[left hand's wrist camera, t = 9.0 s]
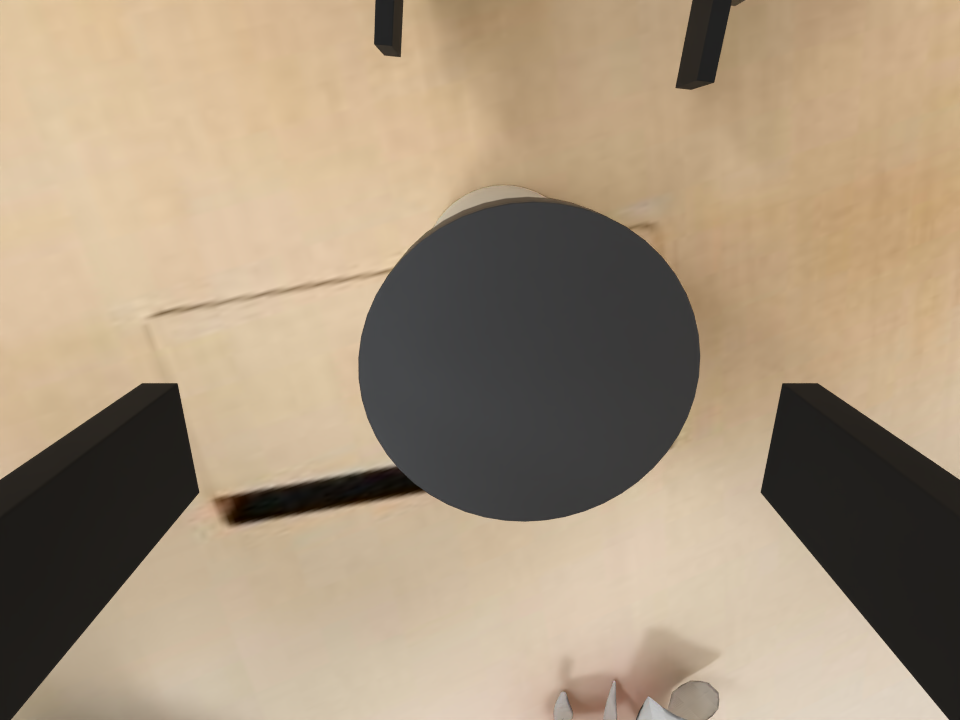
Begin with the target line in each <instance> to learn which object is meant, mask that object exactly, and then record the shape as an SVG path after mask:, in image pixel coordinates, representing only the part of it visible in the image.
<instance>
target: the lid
mask: <svg viewBox="0 0 960 720" xmlns="http://www.w3.org/2000/svg"><path fill="white" fill-rule="evenodd" d="M699 366H700V347H699V334H698V330H697V325H696V321H695V316H694V313H693V310H692V307H691V305H690V302H689V299H688V297H687V294H686V292H685V290H684V289H683V287H682V285H681V283H680V281H679V280H678V278H677V276H676V274H675V273H674V272H673V270H672V269H671V268H670V267H669V265H668V264H667V263H666V261H665V260H664V259H663V257H662V256H661V255H660V254H659V253H658V252H657V251H656V250H655V249H653V248H652V247H651V246H650V245H649V244H648V243H647V242H646V241H645V240H644V239H642V238H641V237H640V236H638V235H637V234H635V233H634V232H633V231H631V230H630V229H628V228H627V227H625V226H624V225H622V224H620V223H618V222H616V221H614V220H612V219H610V218H608V217H606V216H604V215H602V214H600V213H598V212H595V211H593V210H591V209H588V208H585V207H582V206H580V205H577V204H574V203H571V202H566V201H561V200H556V199H551V198H539V197H517V198H505V199H500V200H495V201H491V202H486V203H482V204H479V205H477V206H474V207H471V208H468V209H465V210H463V211H461V212H459V213H457V214H455V215H453V216H451V217H449V218H447V219H445V220H443V221H442V222H441V223H439V224H438V225H436V226H435V227H433V228H432V229H431V230H429V231H428V232H426V233H425V234H424V235H423V236H422V237H421V238H420V239H419V240H418V241H417V242H415V243H414V244H413V245H412V246H411V247H410V248H409V249H408V251H407V252H406V253H405V254H404V256H403V257H402V258H401V259H400V260H399V262H398V263H397V264H396V265H395V267H394V268H393V269H392V271H391V272H390V273H389V275H388V276H387V278H386V279H385V281H384V283H383V284H382V286H381V288H380V289H379V291H378V293H377V294H376V296H375V298H374V301H373V303H372V305H371V308H370V310H369V312H368V314H367V318H366V321H365V325H364V328H363V332H362V336H361V342H360V350H359V384H360V390H361V397H362V401H363V405H364V408H365V411H366V415H367V418H368V420H369V423H370V425H371V427H372V429H373V431H374V434H375V436H376V438H377V439H378V441H379V442H380V444H381V446H382V447H383V449H384V450H385V452H386V454H387V455H388V456H389V457H390V459H391V460H392V461H393V462H394V463H395V465H396V466H397V467H398V468H399V469H400V470H401V471H402V472H403V473H404V474H405V475H406V476H407V477H408V478H409V479H410V480H411V481H412V482H413V483H415V484H416V485H417V486H419V487H420V488H422V489H423V490H424V491H426V492H427V493H428V494H430V495H432V496H433V497H435V498H437V499H439V500H441V501H442V502H444V503H446V504H448V505H450V506H453V507H455V508H458V509H460V510H462V511H465V512H468V513H472V514H475V515H479V516H482V517H486V518H492V519H499V520H505V521H541V520H550V519H555V518H561V517H566V516H570V515H573V514H577V513H580V512H583V511H586V510H589V509H591V508H594V507H596V506H598V505H601V504H603V503H605V502H607V501H609V500H611V499H612V498H614V497H616V496H618V495H620V494H621V493H623V492H624V491H626V490H627V489H628V488H630V487H631V486H633V485H634V484H635V483H637V482H638V481H639V480H640V479H642V478H643V477H644V476H645V475H646V474H647V473H648V472H649V471H650V470H652V469H653V468H654V467H655V465H656V464H657V463H658V462H659V461H660V460H661V458H662V457H663V456H664V455H665V454H666V453H667V451H668V450H669V448H670V447H671V445H672V444H673V442H674V441H675V440H676V438H677V437H678V435H679V433H680V431H681V429H682V427H683V425H684V423H685V421H686V419H687V417H688V414H689V412H690V409H691V406H692V403H693V400H694V397H695V393H696V388H697V383H698V378H699Z"/></svg>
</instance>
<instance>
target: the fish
mask: <svg viewBox="0 0 960 720" xmlns="http://www.w3.org/2000/svg"><path fill="white" fill-rule="evenodd" d="M718 706H719V693H718V691H716V690H715V689H714V688H713V687H712V686H711V685H710V684H709V683H707V682H702V681H689V682H687V683H685V684H683V685H681V686H680V687H679V688H677V689H676V690H675V691H673V692H672V695H671V699H670V702H669V706H668V709H667V710H666V709H665V708H663V707H662V706H660V705H659V704H658V703H657V702H655V701H654V700H653V699H652V698H650V697H649V696H648V697H647V699H646V700H645V702H644V704H643V706H642V707H641V709H640V711H639V713H638V716H637V719H636V720H707V719H709V718H710V717H712V716H713V715H714V713H715V712H716V711H717V710H718ZM572 717H573V712H572V709H571V706H570V704H569V701H568V698H567V694H566V692H561V693H560V695H559V697H558V699H557V702H556V704H555V707H554V720H572ZM603 720H617V710H616V681H613V683H612V687H611V690H610V693H609V696H608V699H607V702H606V707H605V712H604V717H603Z"/></svg>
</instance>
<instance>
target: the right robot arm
mask: <svg viewBox="0 0 960 720" xmlns="http://www.w3.org/2000/svg"><path fill="white" fill-rule="evenodd" d="M743 1H744V0H693V1H692V6H691V12H690V17H689V22H688V27H687V32H686V37H685V42H684V47H683V52H682V57H681V62H680V68H679V73H678V78H677V83H676V88H680V89H689V90H692V89H695V88H698V87H701V86H705V85H708V84H711V83H714V81H715V76H716V71H717V67H718V62H719V58H720V53H721V48H722V44H723V39H724V34H725V30H726V25H727V21H728V16H729V11H730V7H731V6H736V5H738V4H739V3H741V2H743ZM402 17H403V0H376V4H375V35H374V44H375V46H376V47H377V48H378V49H379V50H380V51H381V52H382V53H383V54H384V55H386V56H395V57H401V38H402Z"/></svg>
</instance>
